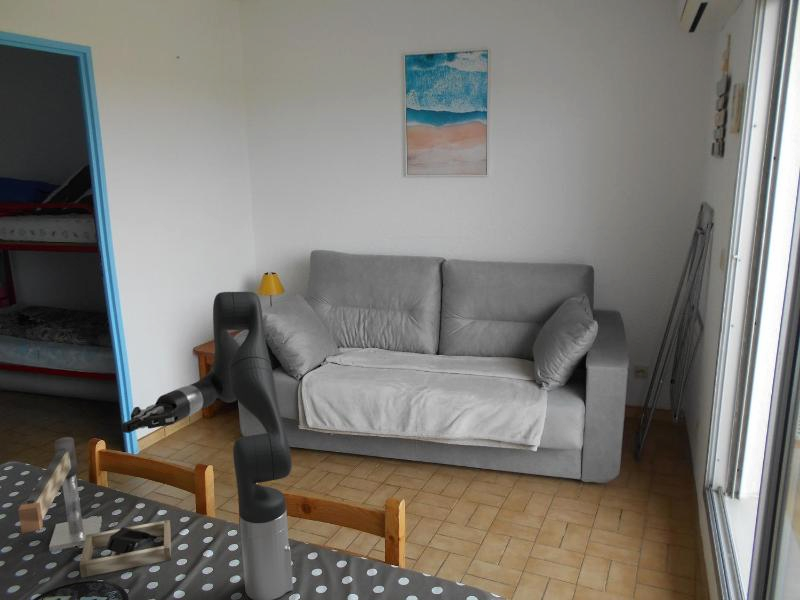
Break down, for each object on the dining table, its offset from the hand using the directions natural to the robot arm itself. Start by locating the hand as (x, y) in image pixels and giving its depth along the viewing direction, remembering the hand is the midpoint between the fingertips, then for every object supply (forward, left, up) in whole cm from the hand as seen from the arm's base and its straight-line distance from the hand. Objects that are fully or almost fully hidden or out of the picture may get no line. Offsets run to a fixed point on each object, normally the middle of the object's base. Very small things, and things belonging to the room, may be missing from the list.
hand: (124, 428), depth 149 cm
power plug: (0, +8, -27) cm, 28 cm away
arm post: (+13, -4, -26) cm, 30 cm away
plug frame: (+1, +8, -26) cm, 28 cm away
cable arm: (+15, +9, -10) cm, 20 cm away
